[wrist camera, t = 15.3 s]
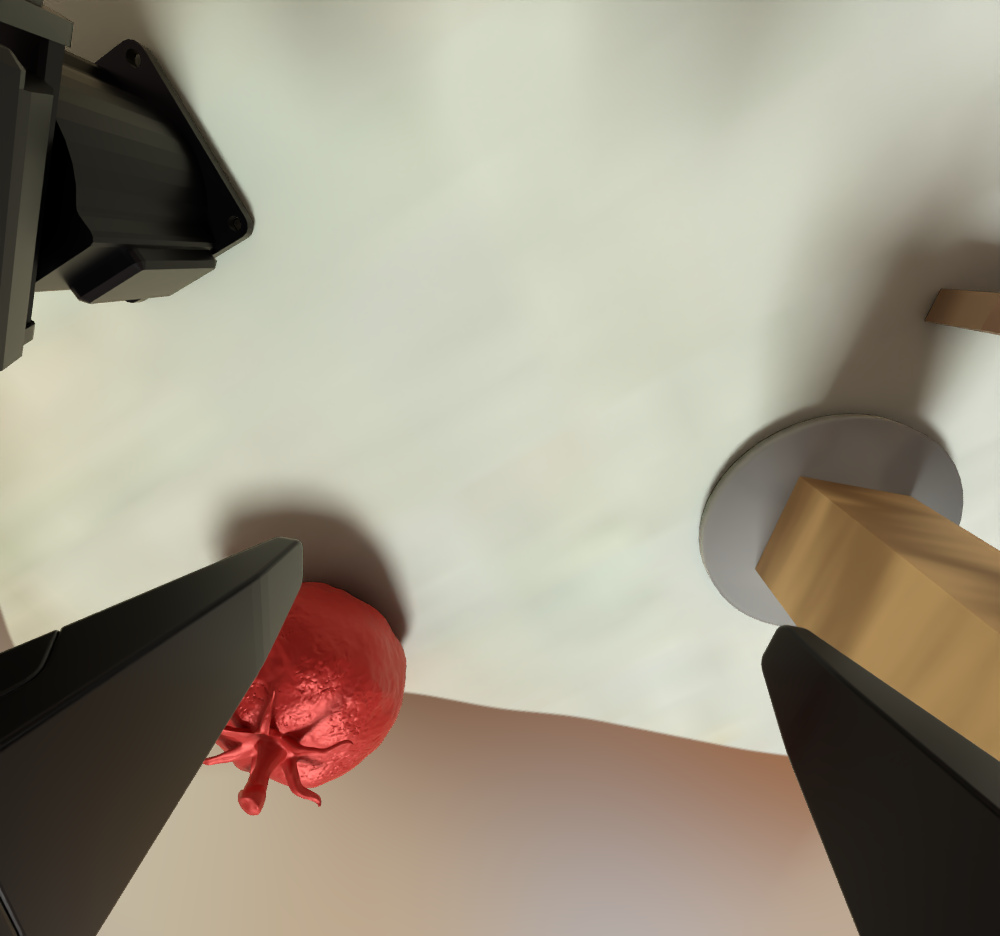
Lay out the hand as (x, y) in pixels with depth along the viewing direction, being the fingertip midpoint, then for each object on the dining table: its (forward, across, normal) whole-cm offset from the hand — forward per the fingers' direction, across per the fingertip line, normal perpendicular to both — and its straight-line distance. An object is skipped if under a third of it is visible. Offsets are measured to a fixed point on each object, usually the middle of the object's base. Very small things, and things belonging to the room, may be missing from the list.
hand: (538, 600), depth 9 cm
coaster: (+13, -14, +3) cm, 20 cm away
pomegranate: (+13, +9, +15) cm, 22 cm away
